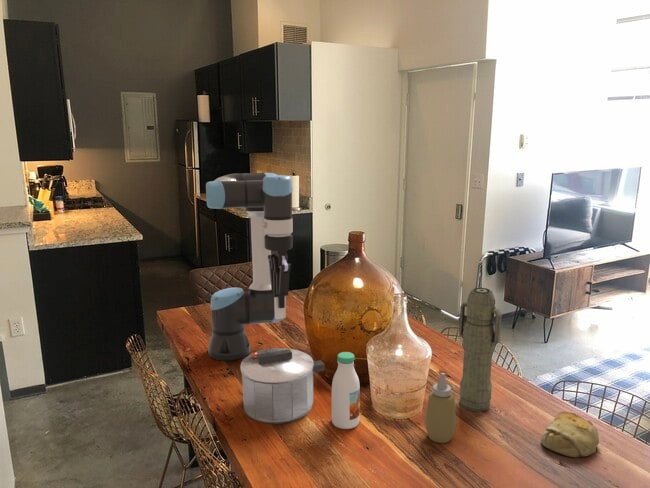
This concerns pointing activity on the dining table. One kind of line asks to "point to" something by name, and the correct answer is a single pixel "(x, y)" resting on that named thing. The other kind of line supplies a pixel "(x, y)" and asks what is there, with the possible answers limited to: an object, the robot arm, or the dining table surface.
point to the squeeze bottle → (441, 412)
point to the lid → (276, 366)
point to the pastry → (571, 435)
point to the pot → (279, 399)
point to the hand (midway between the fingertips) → (280, 317)
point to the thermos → (478, 348)
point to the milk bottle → (345, 393)
